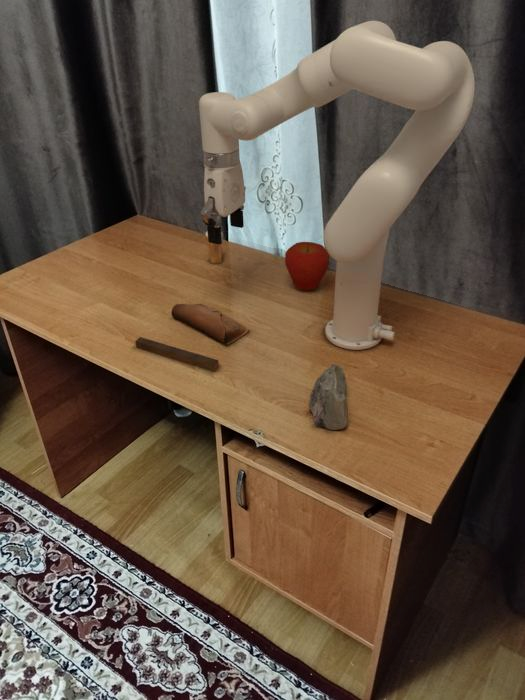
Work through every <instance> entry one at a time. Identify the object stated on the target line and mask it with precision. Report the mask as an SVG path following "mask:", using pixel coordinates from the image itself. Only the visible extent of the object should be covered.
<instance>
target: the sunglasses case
mask: <svg viewBox="0 0 525 700" xmlns="http://www.w3.org/2000/svg"><path fill="white" fill-rule="evenodd" d="M170 314H171V316H172V317H173V318H174V319H177V320H178V321H181V322H182V323H183V322H184V323H186V324H188V325H191V326H192V327H194V328H196V329H197V330H200V331H201V332H203V333H205V334H207V335H209V336H211V337H212V338H215V339H216V340H218V341H220V342H221V343H224V344H226V345H227V346H229V345H231V344H233V343H235V342H237V341H238V340H240V339H241V338H243V337H244V336H246V334H247V333H249V329H248V328H247V326H245V325H243V324H241V323H240V322H239V321H237V320H235V319H234V318H231V317H230V316H228V315H225V314H224V313H222V311H220V310H218V309H216V308H214V307H211V306H208V305H205V304H203V303H193V304H191V303H176V304H175V305H173V306H172V308H171V313H170Z"/></svg>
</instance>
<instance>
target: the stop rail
mask: <svg viewBox="0 0 525 700" xmlns="http://www.w3.org/2000/svg"><path fill="white" fill-rule="evenodd" d="M134 343H135V347H136V349H139V350H142V351H146V352H150V353H152V354H155V355H159V356H163V357H166V358H169V359H172V360H176V361H179V362H181V363H185V364H189V365H190V366H191V365H192V366H195V367H198V368H200V369H201V368H202V369H204V370H208V371H211V372H214V373H215V372H216V371H217V370H218V369H219V368H220V365H219V364H220V363H219V360H218V359H217V358H216V359H215V358H213V357H208V356H206V355H202V354H199V353H195V352H193V351H189V350H186V349H182V348H179V347H176V346H172V345H168V344H166V343H162V342H158V341H155V340H152V339H149V338H145V337H142V336H139V337H138V338H137V339H136V340H134Z"/></svg>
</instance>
